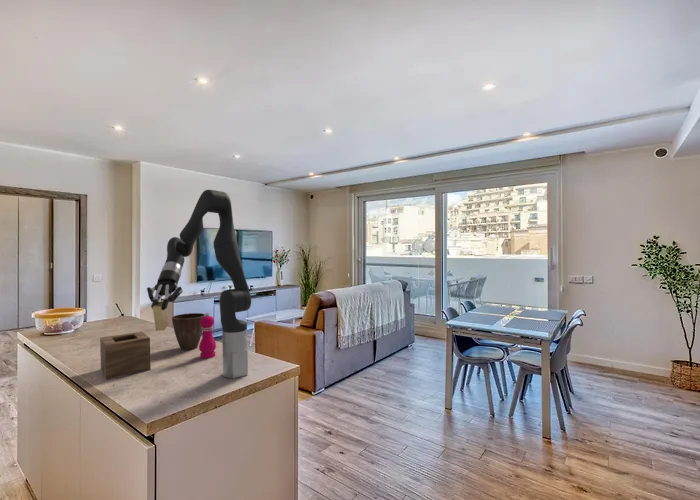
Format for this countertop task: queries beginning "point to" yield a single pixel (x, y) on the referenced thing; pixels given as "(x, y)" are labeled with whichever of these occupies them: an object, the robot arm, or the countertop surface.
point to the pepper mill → (207, 337)
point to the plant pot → (188, 330)
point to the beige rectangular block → (160, 317)
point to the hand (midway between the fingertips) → (158, 309)
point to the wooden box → (125, 354)
